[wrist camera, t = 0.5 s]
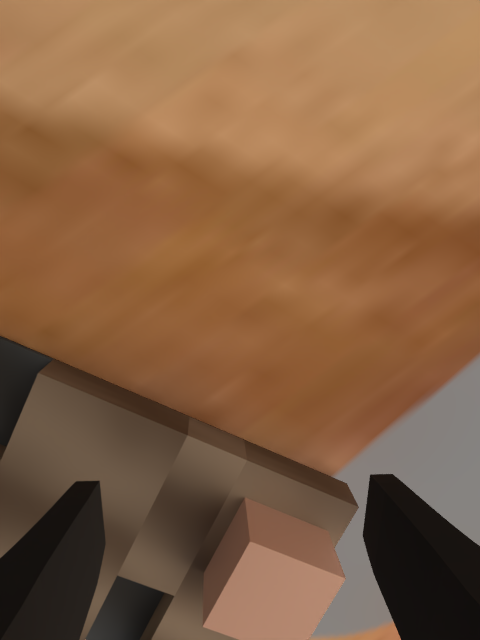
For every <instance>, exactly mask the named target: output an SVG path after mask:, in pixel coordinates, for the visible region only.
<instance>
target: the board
mask: <svg viewBox="0 0 480 640" xmlns="http://www.w3.org/2000/svg"><path fill="white" fill-rule="evenodd" d="M76 481H100V489H101V499H102V509H103V520H104V530H105V540H106V545H105V550H104V555H103V560H102V565H101V570H100V574H99V579H98V584H97V587H96V590H95V593H94V596H93V599H92V602H91V606H90V609H89V612H88V615H87V618H86V621H85V624H84V627H83V630H82V633H81V636H80V639H79V640H85V639H86V640H239V639H236V638H233V637H230V636H227V635H224V634H222V633H219V632H216V631H213V630H210V629H207V628H204V627H203V584H204V572H205V570H206V568H207V566H208V564H209V562H210V561H211V559H212V557H213V555H214V553H215V551H216V550H217V548H218V546H219V544H220V542H221V540H222V538H223V537H224V535H225V533H226V531H227V529H228V527H229V526H230V524H231V522H232V520H233V518H234V516H235V514H236V513H237V511H238V509H239V507H240V505H241V503H242V502H243V500H244V498H248V499H250V500H253V501H255V502H258V503H260V504H263V505H265V506H268V507H270V508H272V509H275V510H277V511H280V512H282V513H285V514H287V515H290V516H292V517H295V518H297V519H300V520H302V521H305V522H307V523H309V524H312V525H314V526H317V527H319V528H322V529H324V530H327V531H328V532H329V535H330V538H331V540H332V543H333V546H334V548H335V546H336V545H337V543H338V541H339V540H340V538H341V536H342V534H343V533H344V531H345V529H346V528H347V526H348V524H349V523H350V521H351V519H352V518H353V516H354V514H355V513H356V511H357V509H358V508H359V507H358V505H357V503H356V501H355V499H354V497H353V495H352V493H351V491H350V489H349V487H348V485H347V483H344V482H342V481H339V480H337V479H335V478H332V477H330V476H328V475H325V474H323V473H321V472H318V471H316V470H314V469H311V468H309V467H307V466H304V465H302V464H300V463H297V462H295V461H293V460H290V459H288V458H286V457H283V456H281V455H278V454H276V453H274V452H271V451H269V450H267V449H264V448H262V447H260V446H257V445H255V444H253V443H250V442H248V441H246V440H243V439H241V438H239V437H236V436H234V435H232V434H229V433H227V432H225V431H222V430H220V429H217V428H215V427H213V426H210V425H208V424H206V423H203V422H201V421H199V420H196V419H194V418H192V417H189V416H187V415H185V414H182V413H180V412H178V411H175V410H173V409H171V408H168V407H166V406H163V405H161V404H159V403H156V402H154V401H152V400H149V399H147V398H145V397H142V396H140V395H138V394H135V393H133V392H131V391H128V390H126V389H124V388H121V387H119V386H117V385H114V384H112V383H109V382H107V381H105V380H102V379H100V378H98V377H95V376H93V375H91V374H88V373H86V372H84V371H81V370H79V369H77V368H74V367H72V366H70V365H67V364H65V363H63V362H60V361H58V360H56V359H53V358H51V357H48V356H46V355H44V354H41V353H39V352H37V351H34V350H32V349H30V348H27V347H25V346H23V345H20V344H18V343H16V342H13V341H11V340H9V339H6V338H4V337H2V336H0V558H1V557H2V556H3V555H4V554H5V553H6V552H7V551H8V550H10V549H11V548H12V547H13V546H14V545H15V544H16V543H17V542H18V541H19V540H20V539H21V538H22V537H23V536H24V535H25V534H26V533H27V532H28V531H29V530H30V529H31V528H32V527H33V526H34V525H35V524H36V523H37V522H38V521H39V520H40V519H41V518H42V517H43V515H44V514H45V513H46V512H47V511H48V510H49V509H50V508H51V507H52V506H53V505H54V504H55V503H56V502H57V501H58V499H59V498H60V497H61V496H62V495H63V494H64V493H65V492H66V491H67V490H68V489H69V488H70V487H71V486H72V485H73V484H74V483H75V482H76Z"/></svg>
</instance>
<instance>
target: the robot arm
mask: <svg viewBox="0 0 480 640" xmlns="http://www.w3.org/2000/svg"><path fill="white" fill-rule="evenodd" d="M363 538H364V542H365V545H366V549H367V553H368V556H369V560H370V563H371V566H372V569H373V573H374V575H375V578H376V581H377V583H378V585H379V588H380V590H381V593H382V595H383V597H384V600H385V602H386V605H387V607H388V609H389V612H390V614H391V616H392V619H393V621H394V623H395V626H396V628H397V630H398V633H399V635H400V637H401V640H480V546H479V545H477V544H476V543H475V542H473V541H472V540H471V539H469V538H468V537H467V536H466V535H464V534H463V533H462V532H461V531H459V530H458V529H457V528H455V527H454V526H453V525H452V524H450V523H449V522H448V521H447V520H446V519H445V518H443V517H442V516H441V515H440V514H439V513H437V512H436V511H435V510H434V509H432V508H431V507H430V506H429V505H428V504H427V503H426V502H425V501H423V500H422V499H421V498H420V497H419V496H418V495H416V494H415V493H414V492H413V491H412V490H411V489H410V488H408V487H407V486H406V485H405V484H404V483H403V482H401V481H400V480H399V479H398V478H397V477H395V476H394V475H393V474H377V475H370V481H369V490H368V497H367V505H366V513H365V522H364V530H363ZM105 545H106V540H105V530H104V520H103V509H102V499H101V489H100V481H76V482H75V483H74V484H73V485H72V486H71V487H70V488H69V489H68V490H67V491H66V492H65V493H64V494H63V495H62V496H61V497H60V498H59V499H58V501H57V502H56V503H55V504H54V505H53V506H52V507H51V508H50V509H49V510H48V511H47V512H46V513H45V514H44V515H43V517H42V518H41V519H40V520H39V521H38V522H37V523H36V524H35V525H34V526H33V527H32V528H31V529H30V530H29V531H28V532H27V533H26V534H25V535H24V536H23V537H22V538H21V539H20V540H19V541H18V542H17V543H16V544H15V545H14V546H13V547H12V548H11V549H10V550H8V551H7V552H6V553H5V554H4V555H3V556H2V557H1V558H0V640H79V639H80V636H81V633H82V630H83V627H84V624H85V621H86V618H87V615H88V612H89V609H90V606H91V602H92V599H93V596H94V593H95V590H96V587H97V584H98V579H99V574H100V570H101V565H102V560H103V555H104V550H105Z"/></svg>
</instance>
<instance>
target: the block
mask: <svg viewBox="0 0 480 640" xmlns="http://www.w3.org/2000/svg"><path fill="white" fill-rule="evenodd" d="M345 579H346V578H345V575H344V573H343V570H342V567H341V565H340V562H339V559H338V556H337V554H336V551H335V549H334V546H333V543H332V540H331V538H330V535H329V532H328V531H327V530H324V529H322V528H319V527H317V526H314V525H312V524H309V523H307V522H305V521H302V520H300V519H297V518H295V517H292V516H290V515H287V514H285V513H282V512H280V511H277V510H275V509H272V508H270V507H268V506H265V505H263V504H260V503H258V502H255V501H253V500H250V499H248V498H244V500H243V502H242V503H241V505H240V507H239V509H238V511H237V513H236V514H235V516H234V518H233V520H232V522H231V524H230V526H229V527H228V529H227V531H226V533H225V535H224V537H223V538H222V540H221V542H220V544H219V546H218V548H217V550H216V551H215V553H214V555H213V557H212V559H211V561H210V562H209V564H208V566H207V568H206V570H205V572H204V584H203V627H204V628H207V629H210V630H213V631H216V632H219V633H222V634H224V635H227V636H230V637H233V638H236V639H239V640H309V638H310V636H311V635H312V633H313V631H314V630H315V628H316V627H317V625H318V623H319V621H320V620H321V618H322V617H323V615H324V613H325V612H326V610H327V609H328V607H329V605H330V604H331V602H332V600H333V599H334V597H335V595H336V594H337V592H338V590H339V589H340V587H341V586H342V584H343V582H344V580H345Z"/></svg>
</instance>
